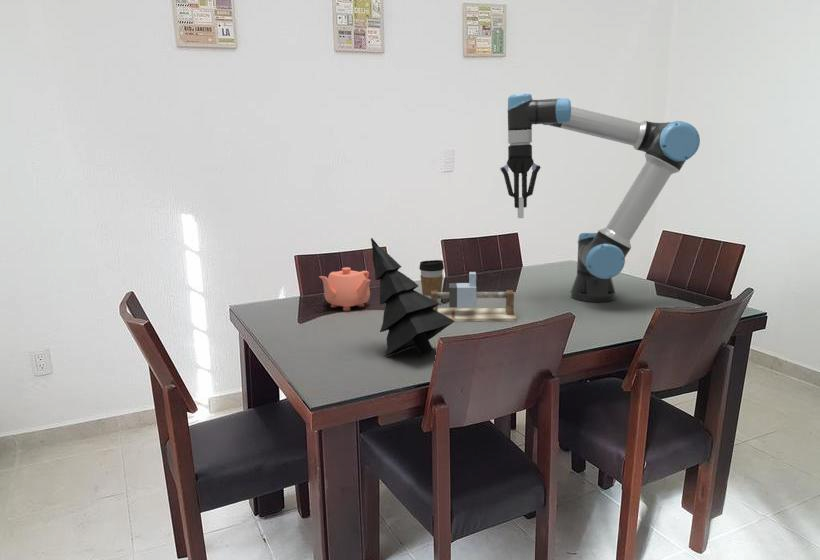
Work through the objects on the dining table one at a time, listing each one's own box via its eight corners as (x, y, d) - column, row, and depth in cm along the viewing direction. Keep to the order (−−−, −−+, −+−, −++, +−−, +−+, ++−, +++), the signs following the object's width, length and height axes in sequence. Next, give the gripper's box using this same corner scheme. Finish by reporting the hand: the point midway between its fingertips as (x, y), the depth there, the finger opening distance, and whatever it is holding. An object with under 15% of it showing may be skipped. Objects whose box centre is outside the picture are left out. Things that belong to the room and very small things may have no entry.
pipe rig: (512, 311, 205) (512, 287, 204) (516, 321, 194) (517, 296, 192) (430, 311, 207) (429, 287, 205) (429, 321, 195) (429, 296, 193)
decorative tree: (428, 356, 173) (376, 247, 181) (462, 335, 163) (405, 221, 171) (391, 371, 163) (336, 254, 171) (424, 349, 153) (365, 227, 160)
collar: (456, 302, 203) (456, 283, 201) (457, 307, 196) (457, 287, 195) (449, 302, 203) (449, 283, 201) (449, 307, 197) (449, 287, 195)
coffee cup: (442, 307, 212) (441, 263, 208) (417, 306, 213) (417, 263, 210) (445, 301, 220) (445, 259, 216) (422, 300, 221) (421, 258, 218)
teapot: (371, 311, 208) (370, 271, 205) (320, 313, 206) (318, 274, 203) (370, 299, 223) (368, 262, 220) (322, 301, 222) (320, 264, 219)
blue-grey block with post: (475, 302, 202) (475, 270, 200) (476, 307, 196) (476, 275, 194) (456, 302, 203) (456, 270, 200) (457, 307, 196) (457, 275, 194)
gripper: (537, 143, 204) (538, 215, 209) (497, 145, 204) (499, 217, 209) (542, 143, 196) (543, 218, 201) (501, 145, 196) (502, 220, 201)
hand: (520, 217), depth 205 cm, fingers closed
